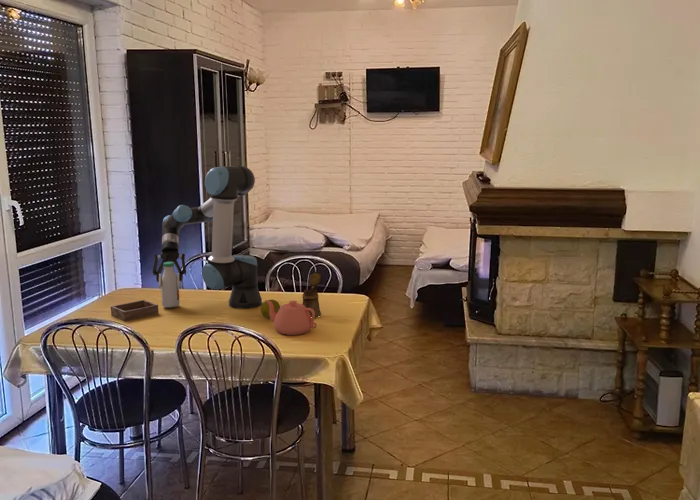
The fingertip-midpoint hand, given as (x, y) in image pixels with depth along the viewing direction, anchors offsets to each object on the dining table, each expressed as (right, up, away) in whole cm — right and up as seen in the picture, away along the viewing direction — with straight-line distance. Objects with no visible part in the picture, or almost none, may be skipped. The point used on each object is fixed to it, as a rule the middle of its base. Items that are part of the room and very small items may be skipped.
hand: (169, 286), depth 284 cm
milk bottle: (-1, -9, +5) cm, 10 cm away
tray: (-13, -12, -6) cm, 19 cm away
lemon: (+47, -13, -10) cm, 50 cm away
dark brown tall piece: (+65, -12, -5) cm, 66 cm away
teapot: (+57, -16, -28) cm, 66 cm away
